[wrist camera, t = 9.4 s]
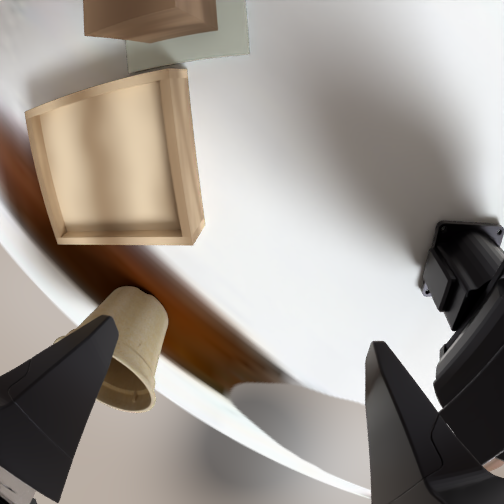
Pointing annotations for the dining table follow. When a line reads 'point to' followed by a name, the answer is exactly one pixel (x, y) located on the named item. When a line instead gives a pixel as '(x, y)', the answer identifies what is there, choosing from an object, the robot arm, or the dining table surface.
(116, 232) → the oak box
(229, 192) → the dining table surface
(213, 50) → the pad
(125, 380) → the flower pot
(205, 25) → the walnut block
